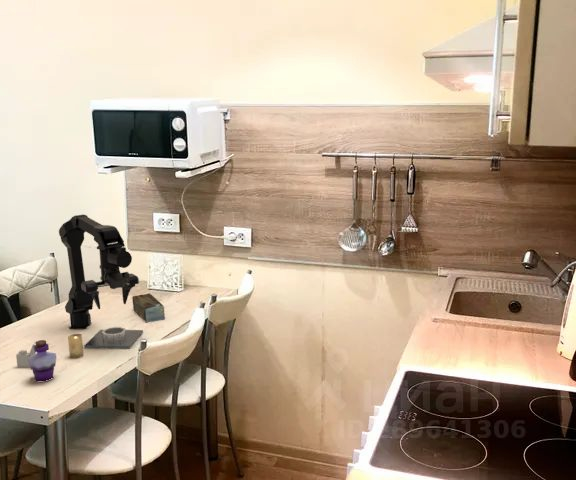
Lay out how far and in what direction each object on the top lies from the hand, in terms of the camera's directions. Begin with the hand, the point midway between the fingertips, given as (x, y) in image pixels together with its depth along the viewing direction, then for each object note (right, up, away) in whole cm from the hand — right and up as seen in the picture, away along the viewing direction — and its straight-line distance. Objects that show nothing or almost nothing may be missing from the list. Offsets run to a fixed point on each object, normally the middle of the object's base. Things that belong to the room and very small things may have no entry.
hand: (112, 306), depth 220 cm
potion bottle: (-13, -19, -27) cm, 36 cm away
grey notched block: (-22, -18, -18) cm, 33 cm away
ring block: (0, -13, +4) cm, 13 cm away
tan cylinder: (-9, -16, -10) cm, 20 cm away
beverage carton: (+6, -7, +33) cm, 34 cm away
